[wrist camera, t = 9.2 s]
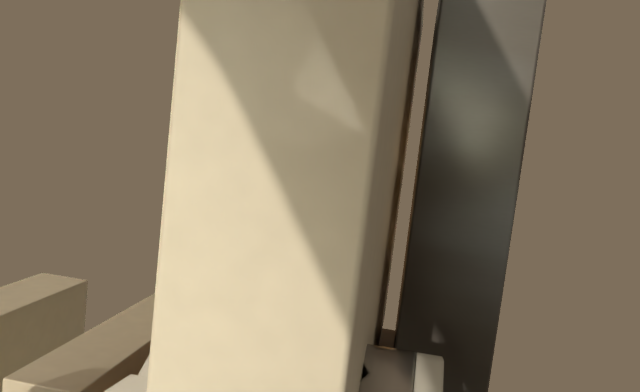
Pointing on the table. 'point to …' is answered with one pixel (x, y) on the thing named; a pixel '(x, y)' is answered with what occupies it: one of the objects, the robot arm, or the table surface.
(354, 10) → the white book
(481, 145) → the book stand
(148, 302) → the cream teal blocky piece
